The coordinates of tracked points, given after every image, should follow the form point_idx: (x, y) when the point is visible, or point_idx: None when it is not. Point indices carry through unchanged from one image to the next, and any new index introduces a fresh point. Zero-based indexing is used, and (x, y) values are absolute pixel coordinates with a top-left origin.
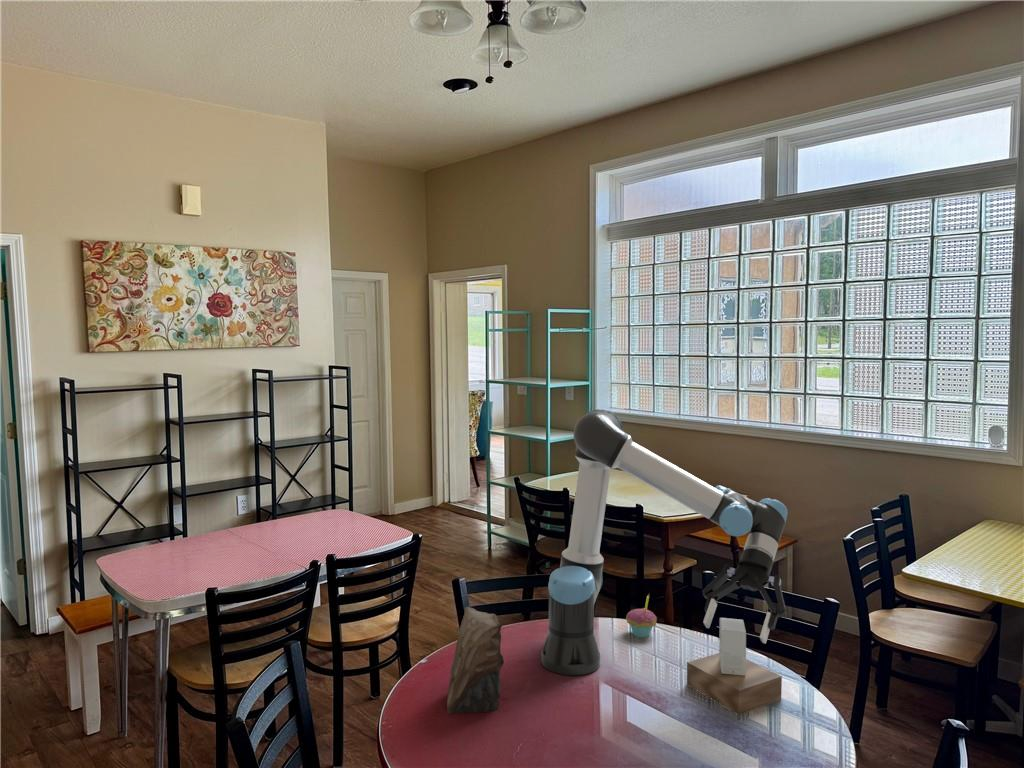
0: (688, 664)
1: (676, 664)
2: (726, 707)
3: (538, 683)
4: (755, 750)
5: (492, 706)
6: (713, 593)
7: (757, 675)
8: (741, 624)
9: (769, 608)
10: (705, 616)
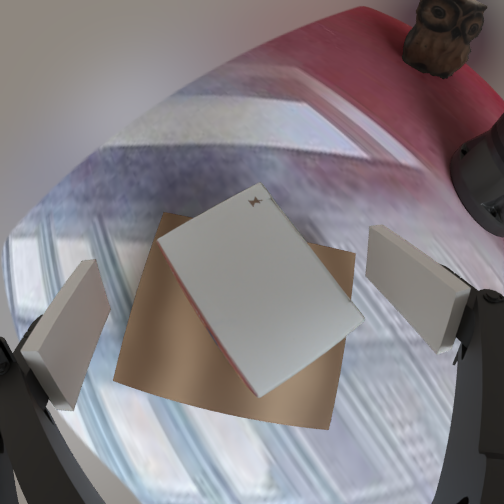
0: (348, 253)
1: (413, 343)
2: None
3: (445, 117)
4: (108, 161)
5: (403, 53)
6: (494, 312)
7: (164, 332)
8: (221, 315)
9: (43, 413)
10: (396, 234)
